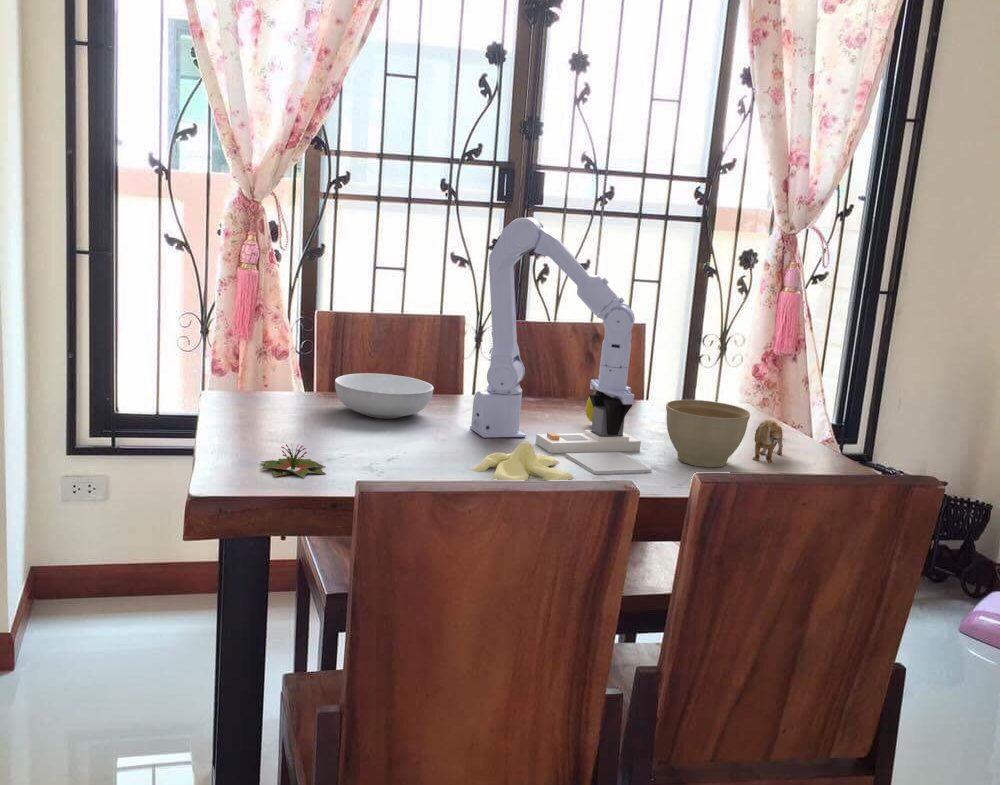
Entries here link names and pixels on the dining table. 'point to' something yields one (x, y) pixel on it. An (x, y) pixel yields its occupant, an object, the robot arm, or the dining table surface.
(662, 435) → the dining table surface
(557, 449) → the power strip
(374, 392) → the serving bowl
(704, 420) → the planter bowl
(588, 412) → the lemon
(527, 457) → the banana peel
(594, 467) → the mat
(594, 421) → the block
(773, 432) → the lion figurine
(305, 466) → the lily flower
